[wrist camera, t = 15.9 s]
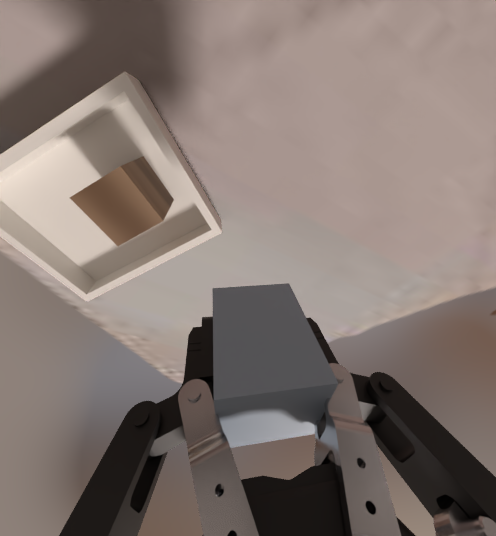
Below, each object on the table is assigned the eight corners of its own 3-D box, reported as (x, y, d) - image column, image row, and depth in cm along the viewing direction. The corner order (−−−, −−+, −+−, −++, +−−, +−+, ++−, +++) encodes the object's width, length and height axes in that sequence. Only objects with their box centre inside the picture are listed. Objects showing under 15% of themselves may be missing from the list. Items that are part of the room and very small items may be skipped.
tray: (-19, 183, 20) (-58, 193, 17) (139, 80, 17) (124, 71, 15) (100, 283, 27) (86, 301, 24) (221, 220, 25) (222, 232, 22)
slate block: (212, 288, 12) (213, 400, 7) (288, 283, 13) (338, 383, 8) (216, 340, 15) (219, 449, 10) (280, 333, 15) (314, 433, 10)
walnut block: (143, 156, 20) (120, 166, 15) (174, 199, 22) (163, 220, 17) (104, 180, 20) (69, 197, 15) (138, 220, 23) (117, 246, 18)
